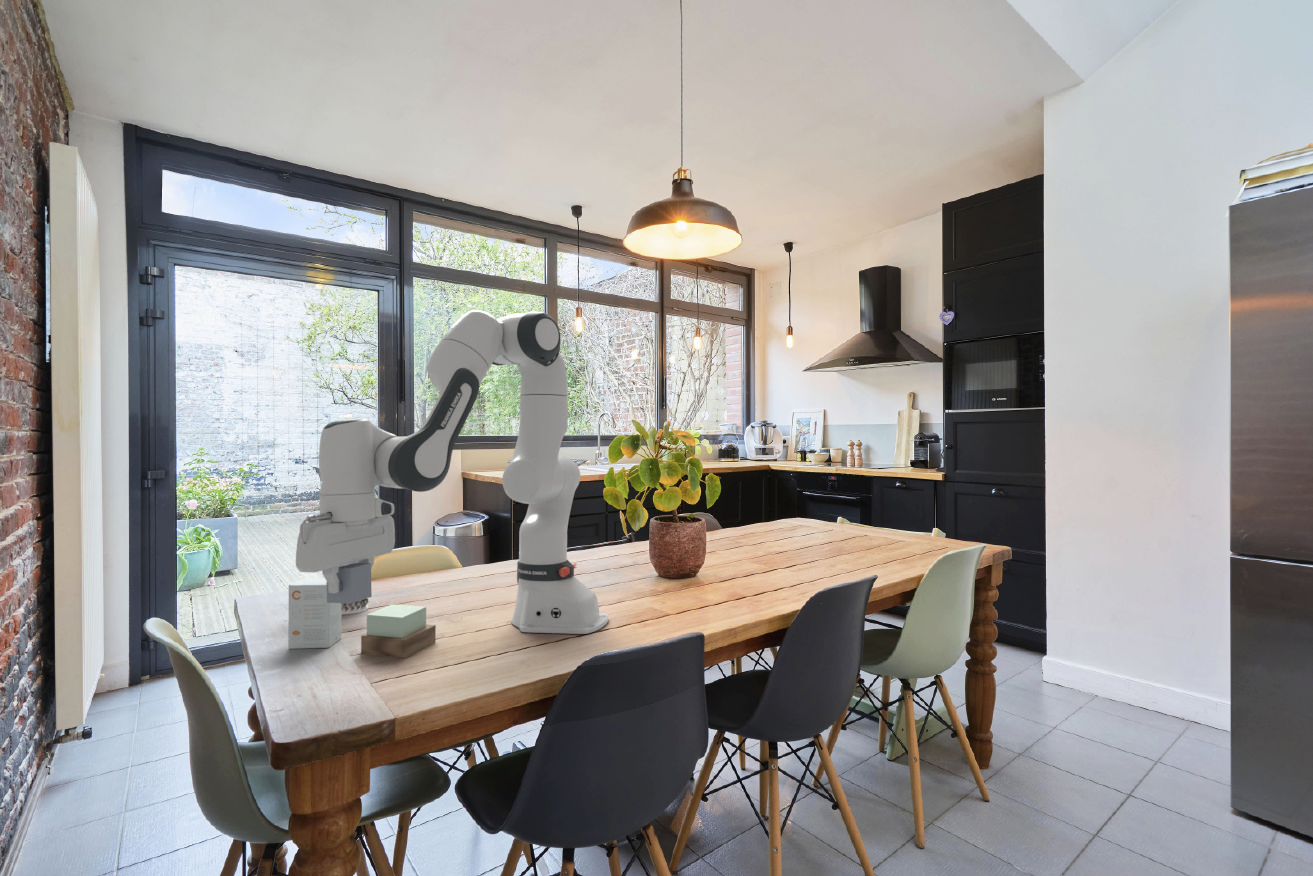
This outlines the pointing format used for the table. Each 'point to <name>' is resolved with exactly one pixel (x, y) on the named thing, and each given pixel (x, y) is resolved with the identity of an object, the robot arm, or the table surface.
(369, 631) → the tower top
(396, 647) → the tower base
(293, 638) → the small box
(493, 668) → the table surface
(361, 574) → the block
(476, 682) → the table surface
